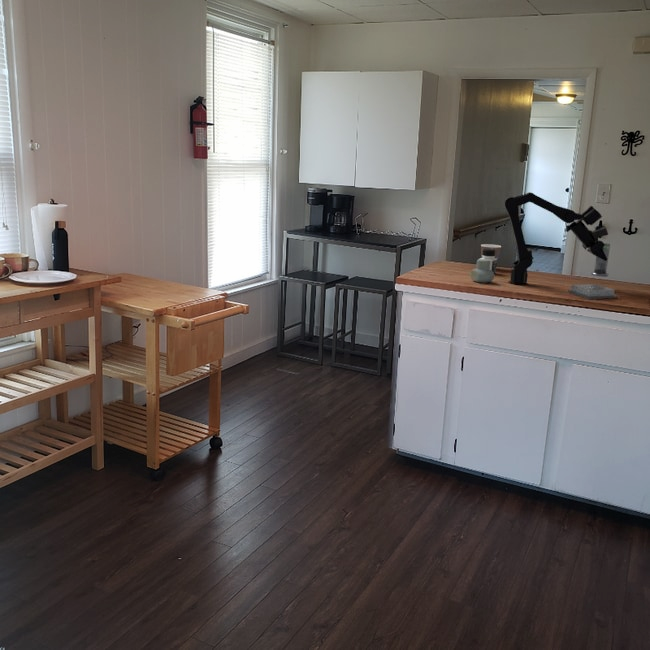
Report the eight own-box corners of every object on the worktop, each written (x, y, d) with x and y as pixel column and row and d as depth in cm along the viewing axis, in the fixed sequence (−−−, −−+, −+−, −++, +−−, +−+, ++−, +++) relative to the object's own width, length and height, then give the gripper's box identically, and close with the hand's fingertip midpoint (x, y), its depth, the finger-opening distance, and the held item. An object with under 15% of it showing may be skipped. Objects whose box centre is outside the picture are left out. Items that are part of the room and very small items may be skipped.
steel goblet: (598, 276, 293) (602, 244, 290) (587, 273, 300) (592, 242, 296) (611, 276, 295) (616, 244, 292) (601, 273, 302) (605, 242, 298)
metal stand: (588, 299, 275) (589, 290, 274) (567, 292, 288) (568, 284, 287) (617, 298, 279) (618, 290, 278) (595, 291, 292) (596, 283, 291)
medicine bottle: (491, 274, 325) (493, 250, 323) (477, 273, 329) (479, 248, 326) (496, 273, 331) (498, 248, 328) (482, 271, 335) (484, 247, 332)
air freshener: (495, 283, 302) (498, 261, 299) (479, 284, 299) (481, 261, 297) (483, 279, 312) (485, 258, 309) (467, 279, 309) (469, 258, 307)
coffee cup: (501, 271, 339) (503, 247, 336) (480, 270, 339) (483, 246, 336) (496, 267, 349) (498, 244, 346) (476, 267, 349) (478, 243, 346)
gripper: (602, 222, 283) (626, 250, 284) (593, 218, 301) (615, 244, 302) (580, 239, 287) (604, 267, 287) (572, 235, 304) (594, 261, 305)
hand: (605, 259), depth 296 cm, fingers closed on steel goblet, 5 cm apart
